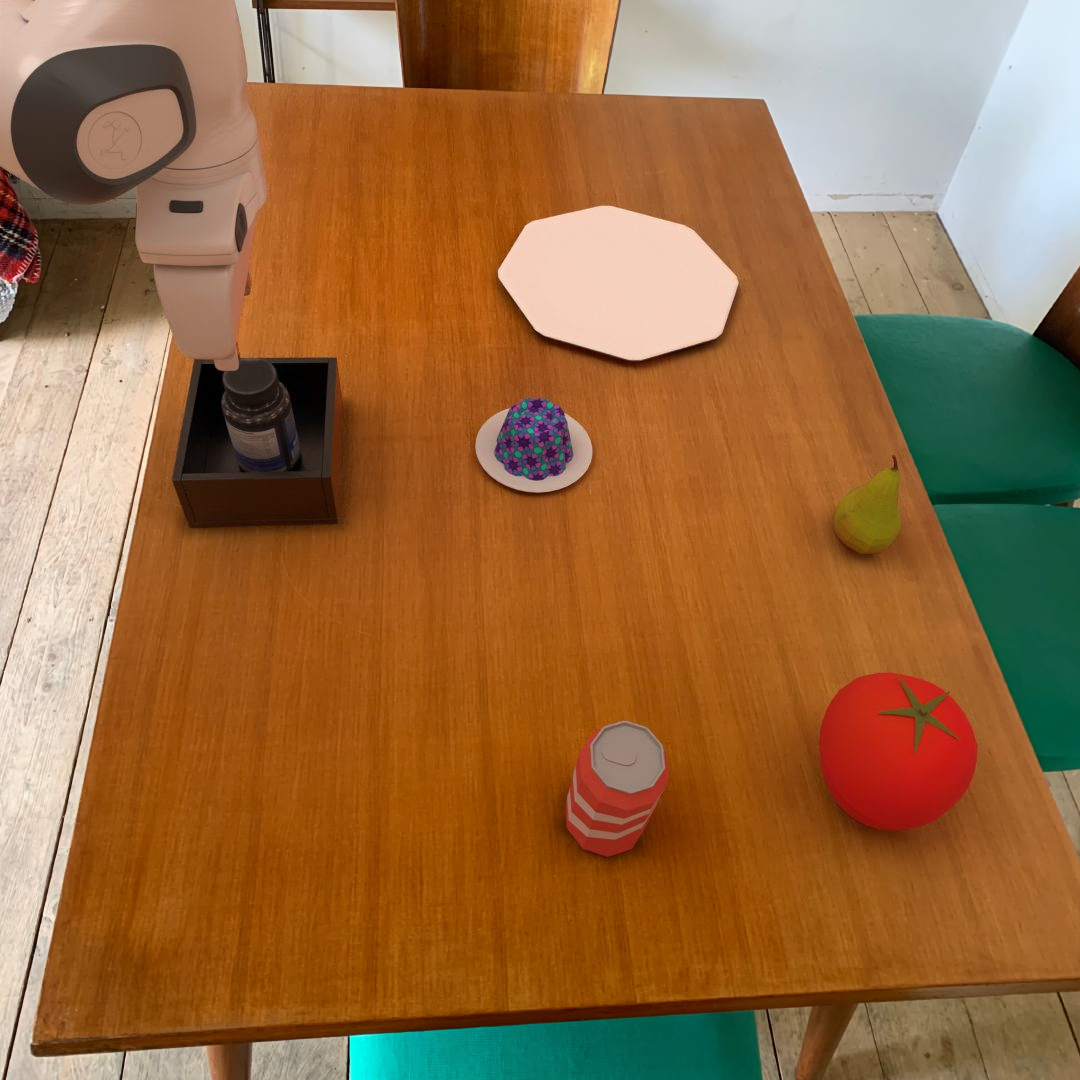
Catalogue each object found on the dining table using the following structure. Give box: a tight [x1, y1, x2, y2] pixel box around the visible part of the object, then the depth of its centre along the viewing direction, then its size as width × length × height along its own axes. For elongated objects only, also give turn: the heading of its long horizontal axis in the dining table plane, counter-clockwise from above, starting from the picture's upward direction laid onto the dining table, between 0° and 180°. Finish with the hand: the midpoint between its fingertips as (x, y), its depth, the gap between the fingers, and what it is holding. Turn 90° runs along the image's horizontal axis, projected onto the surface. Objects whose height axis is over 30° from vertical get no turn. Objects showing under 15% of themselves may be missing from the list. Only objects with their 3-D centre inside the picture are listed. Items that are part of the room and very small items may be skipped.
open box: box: [171, 356, 344, 529], centre depth 88 cm, size 14×16×7 cm
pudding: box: [474, 397, 593, 493], centre depth 92 cm, size 12×12×5 cm
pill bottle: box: [221, 357, 300, 472], centre depth 86 cm, size 6×6×11 cm
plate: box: [497, 205, 740, 362], centre depth 111 cm, size 28×28×2 cm
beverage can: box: [565, 719, 670, 858], centre depth 67 cm, size 6×6×12 cm
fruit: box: [832, 454, 902, 555], centre depth 86 cm, size 6×6×12 cm
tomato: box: [818, 671, 978, 831], centre depth 70 cm, size 11×11×13 cm
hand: (235, 326), depth 77 cm, fingers open, 8 cm apart
